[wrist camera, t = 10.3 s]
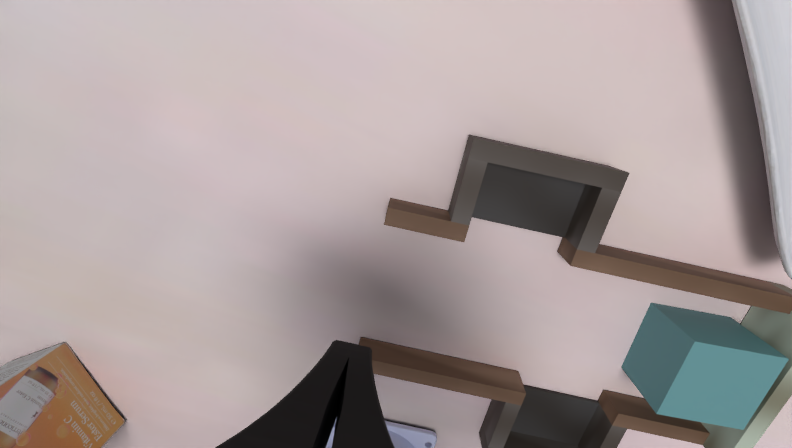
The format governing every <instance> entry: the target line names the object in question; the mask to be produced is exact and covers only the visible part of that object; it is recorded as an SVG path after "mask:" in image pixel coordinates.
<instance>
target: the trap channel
mask: <svg viewBox="0 0 792 448" xmlns="http://www.w3.org/2000/svg"><path fill="white" fill-rule="evenodd" d="M628 175H629V173H628V172H625V171H622V170H619V169H616V168H614V167H611V166H607V165H602V164H598V163H593V162H589V161H585V160H580V159H576V158H571V157H567V156H562V155H558V154H553V153H549V152H544V151H540V150H535V149H531V148H527V147H522V146H518V145H513V144H509V143H504V142H500V141H495V140H491V139H486V138H482V137H477V136H473V135H469V137H468V140H467V144H466V148H465V151H464V155H463V159H462V162H461V166H460V170H459V173H458V177H457V181H456V185H455V188H454V192H453V196H452V199H451V203H450V207H449V210H448V211H447V210H442V209H438V208H433V207H429V206H424V205H420V204H415V203H411V202H406V201H402V200H397V199H393V198H390V202H389V205H388V209H387V213H386V218H385V223H384V225H388V226H393V227H397V228H402V229H406V230H411V231H415V232H420V233H424V234H429V235H434V236H438V237H443V238H447V239H452V240H456V241H461V242H464V241H465V238H466V234H467V231H468V228H469V224H470V221H471V217H474V218H479V219H483V220H488V221H492V222H497V223H501V224H506V225H510V226H515V227H519V228H524V229H528V230H533V231H537V232H542V233H546V234H551V235H555V236H560V237H563V239H562V241H561V244H560V246H559V249H558V251H557V252H558V253H559V254H560V255H561V256H562V257H563V258H564V259H565V260H566V262H567V263H568V264H569V265H570V266H574V267H578V268H583V269H587V270H592V271H596V272H601V273H606V274H610V275H615V276H619V277H624V278H628V279H633V280H637V281H642V282H646V283H651V284H655V285H660V286H664V287H669V288H673V289H678V290H682V291H687V292H692V293H696V294H701V295H705V296H710V297H714V298H719V299H723V300H728V301H732V302H737V303H741V304H746V305H750V306H751V308H750V310H749V311H748V313H747V315H746V316H745V318H744V319H743V321H742V323H741V325H742V326H743V327H745V328H746V329H748V330H749V331H750V332H752V333H753V334H755V335H756V336H758V337H759V338H760V339H762V340H763V341H765V342H766V343H767V344H769V345H770V346H772V347H773V348H775V349H776V350H777V351H779V352H780V353H782V354H783V355H784V356H786V357H787V358H789V360H788V362H787V363H786V365H785V366H784V368H783V369H782V371H781V372H780V374H779V375H778V377H777V379H776V380H775V382H774V383H773V385H772V386H771V388H770V389H769V391H768V393H767V394H766V396H765V397H764V399H763V400H762V402H761V403H760V405H759V407H758V408H757V410H756V411H755V413H754V414H753V416H752V417H751V419H750V420H749V422H748V424H747V425H746V427H745V428H744V430H740V429H735V428H730V427H724V426H719V425H713V424H708V423H703V422H697V421H692V420H686V419H681V418H676V417H670V416H665V415H659V414H656V413H655V411H654V410H653V409H652V407H651V406H650V405H649V403H648V402H647V401H646V399H643V398H639V397H634V396H629V395H625V394H620V393H616V392H611V391H606V390H603V392H602V394H601V396H600V398H599V400H598V401H595V400H591V399H586V398H582V397H577V396H572V395H568V394H563V393H559V392H554V391H549V390H545V389H540V388H536V387H531V386H526V385H523V383H522V380H521V377H520V375H519V372H518V371H515V370H510V369H505V368H501V367H496V366H492V365H487V364H482V363H478V362H473V361H469V360H464V359H459V358H455V357H450V356H446V355H441V354H436V353H432V352H427V351H423V350H418V349H413V348H409V347H404V346H400V345H395V344H391V343H386V342H381V341H377V340H372V339H368V338H363V337H361V338H360V342H359V345H361V346H366V347H370V348H371V350H372V367H373V374H378V375H383V376H387V377H392V378H396V379H401V380H406V381H410V382H415V383H419V384H424V385H429V386H433V387H438V388H443V389H447V390H452V391H456V392H461V393H466V394H470V395H475V396H479V397H484V398H489V399H492V401H491V404H490V406H489V409H488V411H487V414H486V417H485V419H484V422H483V424H482V427H481V430H480V432H479V434H480V440H481V445H482V448H617V446H618V444H619V443H620V441H621V439H622V437H623V435H624V434H625V432H626V430H627V429H632V430H636V431H641V432H646V433H650V434H655V435H659V436H664V437H669V438H673V439H678V440H682V441H687V442H692V443H696V444H701V445H703V446H704V447H705V448H753V447H754V446H755V445H756V443H757V442H758V441H759V439H760V438H761V436H762V435H763V434H764V432H765V431H766V430H767V428H768V427H769V425H770V424H771V423H772V421H773V420H774V419H775V417H776V416H777V414H778V413H779V412H780V410H781V409H782V408H783V406H784V405H785V403H786V402H787V401H788V399H789V398H790V397H791V395H792V289H790V288H788V287H786V286H784V285H781V284H776V283H772V282H767V281H763V280H758V279H754V278H749V277H745V276H740V275H736V274H731V273H726V272H722V271H717V270H713V269H708V268H704V267H699V266H695V265H690V264H686V263H681V262H677V261H672V260H668V259H663V258H659V257H654V256H650V255H645V254H641V253H636V252H632V251H627V250H623V249H618V248H614V247H609V246H605V245H600V244H599V243H600V240H601V238H602V236H603V233H604V231H605V229H606V226H607V224H608V222H609V219H610V217H611V215H612V212H613V210H614V208H615V205H616V203H617V201H618V198H619V196H620V194H621V191H622V189H623V187H624V184H625V182H626V180H627V177H628Z"/></svg>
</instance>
